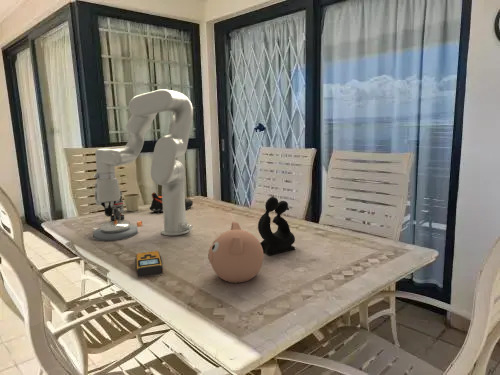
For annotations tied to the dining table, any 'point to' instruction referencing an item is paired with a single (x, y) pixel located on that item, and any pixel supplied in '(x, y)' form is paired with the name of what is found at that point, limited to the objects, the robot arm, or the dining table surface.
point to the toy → (236, 255)
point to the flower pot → (131, 201)
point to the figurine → (282, 236)
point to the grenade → (118, 205)
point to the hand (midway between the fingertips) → (108, 215)
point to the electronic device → (148, 263)
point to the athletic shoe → (158, 205)
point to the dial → (115, 224)
